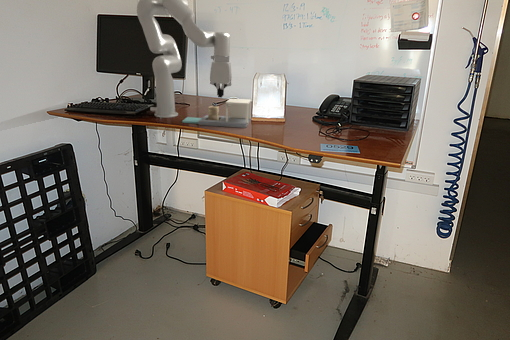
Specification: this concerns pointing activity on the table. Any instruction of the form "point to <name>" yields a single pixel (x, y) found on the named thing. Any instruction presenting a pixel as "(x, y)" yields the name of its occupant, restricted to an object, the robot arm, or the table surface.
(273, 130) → the table surface
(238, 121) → the puzzle board
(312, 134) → the table surface
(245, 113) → the sliding cover
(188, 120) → the teal mat
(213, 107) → the maple block
